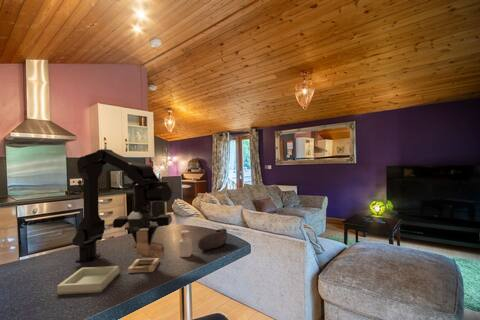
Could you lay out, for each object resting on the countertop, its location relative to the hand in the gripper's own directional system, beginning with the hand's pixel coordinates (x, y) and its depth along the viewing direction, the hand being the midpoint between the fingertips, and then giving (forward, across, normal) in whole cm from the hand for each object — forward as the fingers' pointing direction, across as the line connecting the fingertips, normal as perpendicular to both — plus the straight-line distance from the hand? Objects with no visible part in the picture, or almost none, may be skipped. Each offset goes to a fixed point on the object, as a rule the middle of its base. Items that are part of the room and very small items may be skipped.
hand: (143, 245), depth 88 cm
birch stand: (+8, 0, 0) cm, 8 cm away
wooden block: (+2, 0, 0) cm, 2 cm away
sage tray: (+8, -13, -10) cm, 18 cm away
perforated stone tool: (+8, +23, +17) cm, 30 cm away
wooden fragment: (+8, -3, +18) cm, 20 cm away
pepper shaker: (+8, +13, +9) cm, 18 cm away
